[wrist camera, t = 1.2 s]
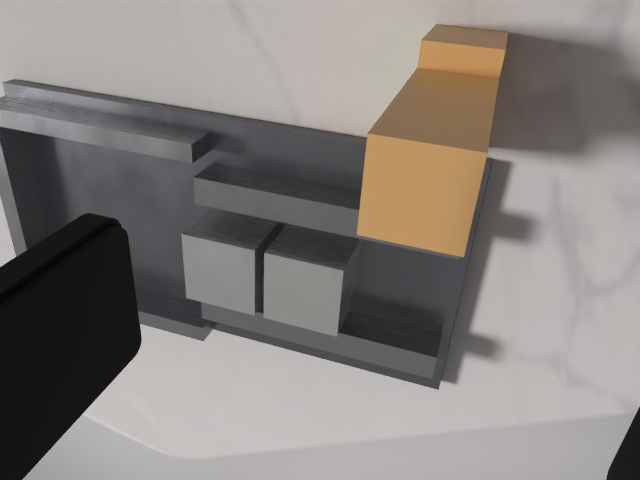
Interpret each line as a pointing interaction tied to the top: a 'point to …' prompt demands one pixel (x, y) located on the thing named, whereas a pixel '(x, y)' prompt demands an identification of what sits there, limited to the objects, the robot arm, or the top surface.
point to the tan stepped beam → (434, 143)
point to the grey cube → (310, 278)
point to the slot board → (226, 194)
